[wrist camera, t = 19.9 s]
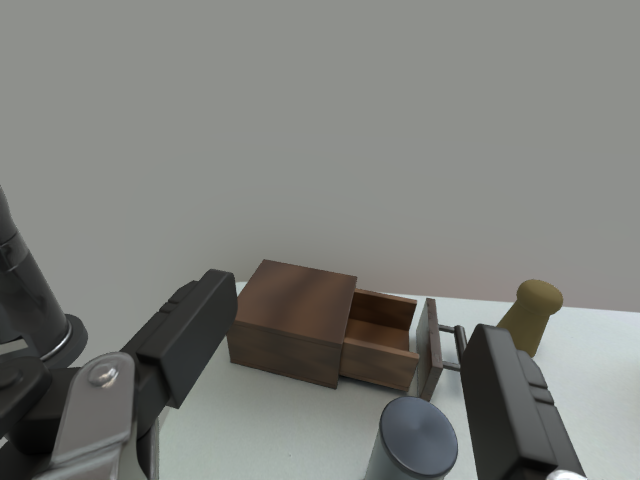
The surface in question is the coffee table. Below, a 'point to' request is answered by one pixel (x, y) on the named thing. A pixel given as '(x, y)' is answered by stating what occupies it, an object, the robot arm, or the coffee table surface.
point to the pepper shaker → (531, 314)
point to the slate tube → (412, 442)
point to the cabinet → (292, 322)
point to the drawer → (395, 343)
